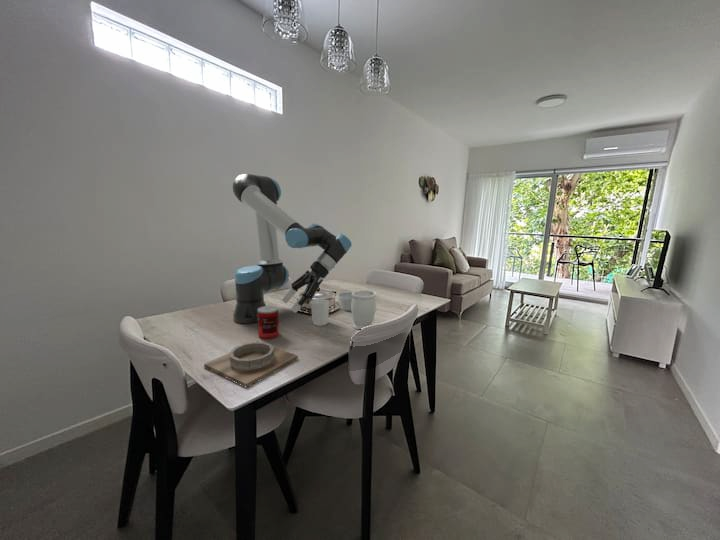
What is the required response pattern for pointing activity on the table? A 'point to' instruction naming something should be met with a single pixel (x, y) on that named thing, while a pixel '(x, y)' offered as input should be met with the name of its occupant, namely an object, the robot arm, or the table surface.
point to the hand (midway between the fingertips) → (287, 306)
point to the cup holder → (250, 362)
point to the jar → (363, 308)
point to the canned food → (268, 322)
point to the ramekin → (345, 301)
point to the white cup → (320, 311)
